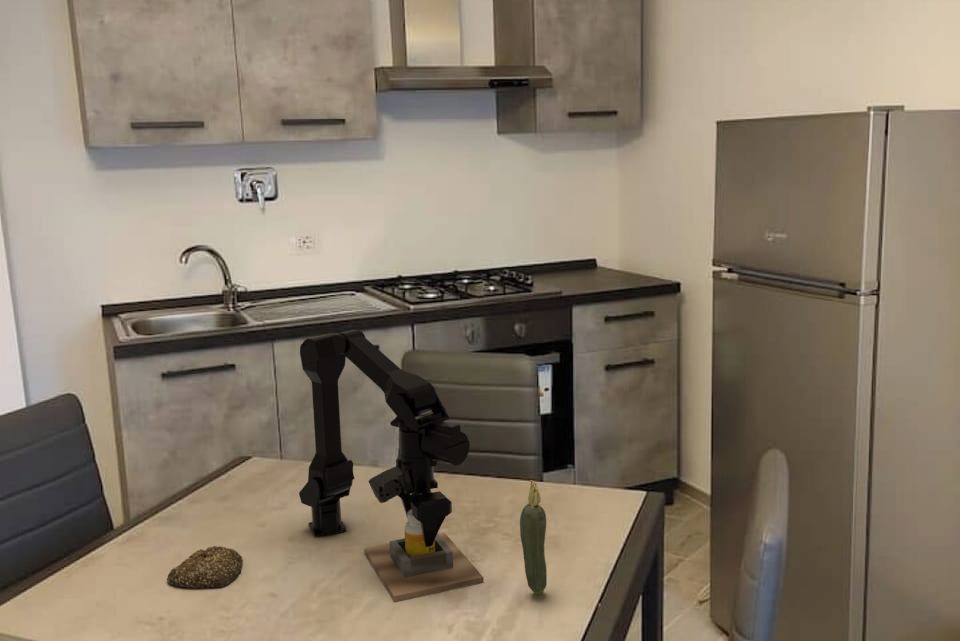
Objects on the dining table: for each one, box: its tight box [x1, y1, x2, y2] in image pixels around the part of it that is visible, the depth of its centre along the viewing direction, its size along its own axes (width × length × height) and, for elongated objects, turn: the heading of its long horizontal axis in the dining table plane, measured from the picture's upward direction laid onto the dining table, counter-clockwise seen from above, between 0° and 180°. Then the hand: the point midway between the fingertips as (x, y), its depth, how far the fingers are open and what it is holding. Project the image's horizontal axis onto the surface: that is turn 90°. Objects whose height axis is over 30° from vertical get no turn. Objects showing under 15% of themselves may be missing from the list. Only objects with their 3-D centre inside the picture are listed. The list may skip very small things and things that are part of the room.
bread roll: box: [166, 545, 244, 589], centre depth 158 cm, size 13×12×5 cm
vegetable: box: [519, 479, 548, 596], centre depth 144 cm, size 4×4×20 cm
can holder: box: [363, 532, 484, 603], centre depth 157 cm, size 20×16×4 cm
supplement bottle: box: [403, 509, 435, 558], centre depth 157 cm, size 5×5×10 cm
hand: (420, 536), depth 157 cm, fingers open, 9 cm apart
